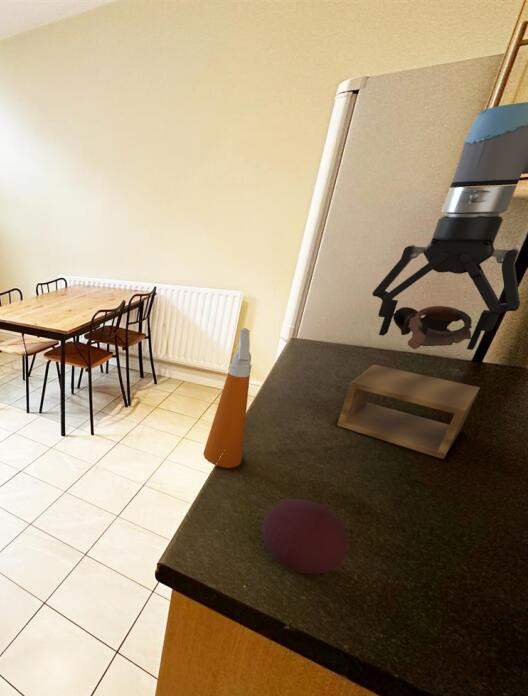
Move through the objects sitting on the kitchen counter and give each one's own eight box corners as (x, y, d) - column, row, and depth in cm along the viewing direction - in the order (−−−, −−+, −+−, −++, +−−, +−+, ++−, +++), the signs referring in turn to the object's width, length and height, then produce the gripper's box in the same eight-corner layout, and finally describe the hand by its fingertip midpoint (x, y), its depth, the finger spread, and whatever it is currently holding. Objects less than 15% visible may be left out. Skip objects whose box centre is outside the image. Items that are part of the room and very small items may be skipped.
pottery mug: (472, 349, 75) (494, 316, 70) (431, 376, 75) (450, 346, 69) (402, 318, 84) (416, 286, 78) (365, 342, 83) (377, 313, 78)
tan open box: (459, 432, 91) (480, 387, 86) (443, 459, 82) (466, 410, 78) (359, 404, 104) (373, 364, 100) (336, 425, 95) (351, 382, 91)
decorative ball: (283, 593, 56) (301, 537, 52) (242, 538, 65) (255, 486, 61) (354, 588, 56) (378, 532, 52) (304, 534, 65) (321, 482, 61)
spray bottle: (239, 444, 89) (265, 326, 79) (241, 471, 80) (271, 343, 70) (204, 437, 92) (224, 323, 82) (202, 464, 83) (225, 339, 73)
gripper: (374, 216, 75) (341, 331, 84) (588, 215, 58) (518, 361, 66) (386, 214, 79) (353, 324, 88) (588, 213, 62) (522, 350, 71)
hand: (424, 340), depth 77 cm, fingers closed on pottery mug, 11 cm apart
